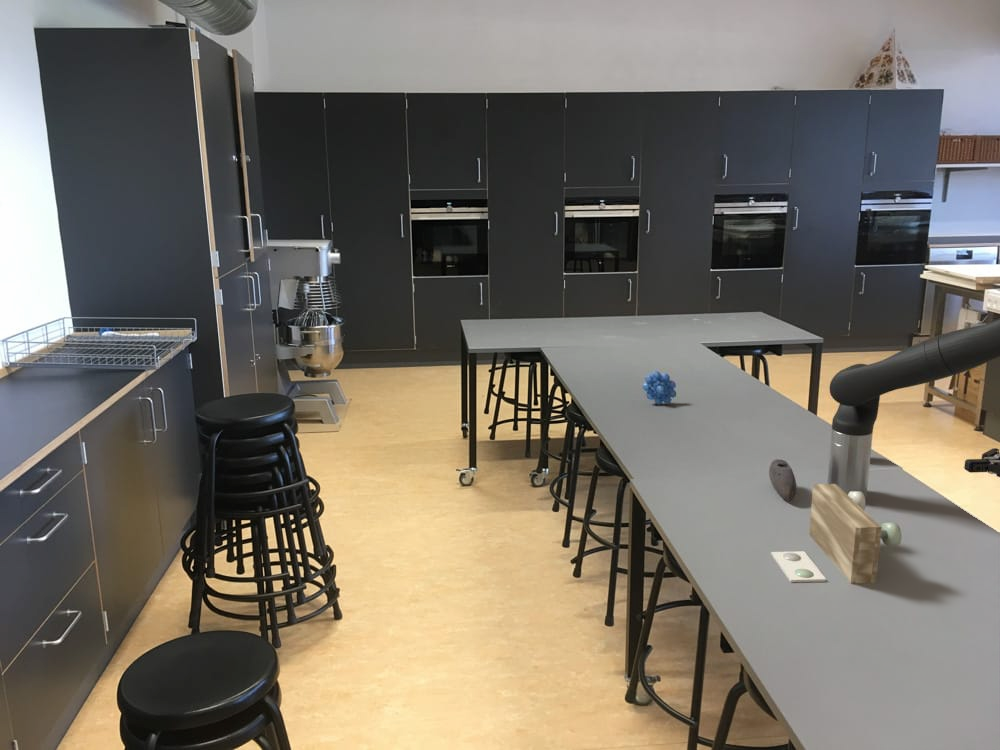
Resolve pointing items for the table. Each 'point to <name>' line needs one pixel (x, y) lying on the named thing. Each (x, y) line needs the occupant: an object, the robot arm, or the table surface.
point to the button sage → (891, 534)
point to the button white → (858, 498)
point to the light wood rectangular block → (845, 533)
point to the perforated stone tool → (783, 479)
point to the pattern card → (798, 567)
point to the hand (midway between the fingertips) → (966, 466)
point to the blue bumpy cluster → (659, 388)
